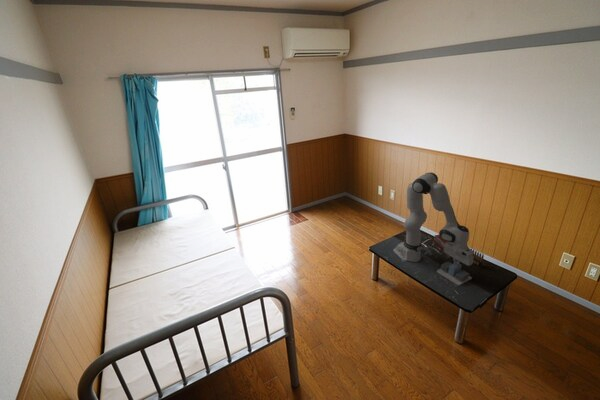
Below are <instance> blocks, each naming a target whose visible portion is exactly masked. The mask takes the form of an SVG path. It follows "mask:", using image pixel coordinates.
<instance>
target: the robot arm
mask: <svg viewBox="0 0 600 400" xmlns="http://www.w3.org/2000/svg"><path fill="white" fill-rule="evenodd" d="M438 181H439V177H438V176H437V174H436V173H435V172H426V173H425V174H422V175H420V176H419V177H418V178H416V179H415V180H414V181H413V182H411V183H409V184H408V185H407V188H406V207H407V209H408V210H409V213H410V214H409V216H408V217H407V218H406V219H405V221H404V223H403V227H404V231H405V232H406V233H405V234H406V236H405V239H403V241H402V242H400V243H398V244H397V245H396V247H395V248H393V251H392V252H393V253H395V254H396V256H398V258H400V259H401V260H402V261H403V262H411V263H416V262H419V261H420V260H421V259H422V256H421V247H422V235H423V234H422V233H421V228H422V226H423V224H425V223H426V221H427V218H428V215H427V212H426V211H425V208H424V198H423V197H424V196H423V195H428V194H429V196H430V198H431V204H432V206H433V208H434V210H436V211H437V212H443V214H444V216H445V221H446V223H445V225H444V226H443V228H441V229H440V230H439V231H438V235H439V236H440V238H441V239H442V240H444V241H447V242H446V244H445V248H444V252H443V253H444V254H445V255H448V256H450V257H452V259H453V264H454V263H455V264H457V265H459V263H462V264H463V265H466V266H467V267H470V266H471V265H474V264H473V254H474V253H475V251H474V252H473V249H472V250H471V248H470V247H469V246H468V242H469V239H470V230H469V228H468V227H466V226H464V225H460V224H459V222H458V220H457V217H456V216H455V215H456V214H455V211H454V208H453V206H452V203H451V200H450V195H449V191H448V190H447V187H446V185H445V184H444V183H441V182H440V183H439V182H438ZM449 242H453V244H451V243H449Z"/></svg>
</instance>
